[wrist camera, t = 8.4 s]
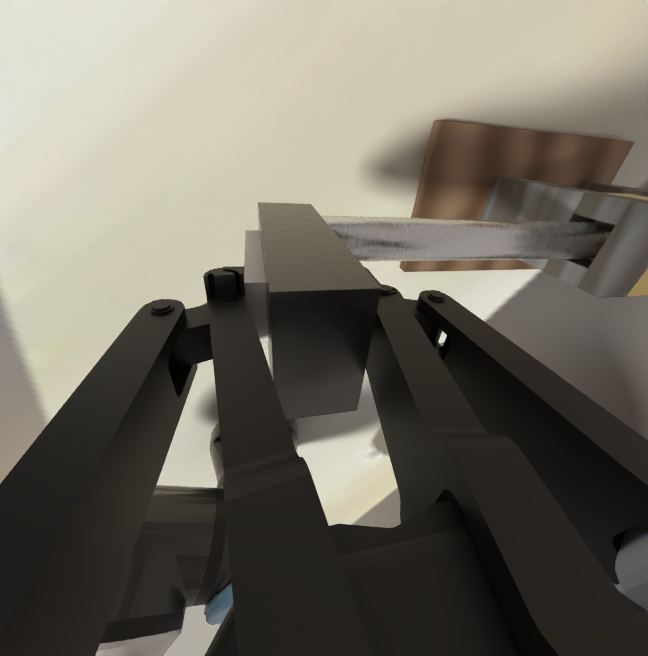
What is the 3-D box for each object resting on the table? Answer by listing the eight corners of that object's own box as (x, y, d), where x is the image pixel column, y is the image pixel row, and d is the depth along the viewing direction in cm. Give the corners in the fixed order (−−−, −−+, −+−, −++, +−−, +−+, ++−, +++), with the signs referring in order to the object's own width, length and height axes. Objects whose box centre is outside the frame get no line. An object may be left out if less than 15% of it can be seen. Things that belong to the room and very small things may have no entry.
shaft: (260, 266, 21) (274, 421, 10) (256, 193, 18) (269, 292, 7) (575, 261, 27) (799, 351, 16) (607, 207, 25) (905, 270, 14)
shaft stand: (399, 267, 38) (489, 348, 24) (433, 120, 29) (610, 111, 15) (553, 264, 44) (700, 329, 29) (621, 141, 35) (880, 148, 21)
